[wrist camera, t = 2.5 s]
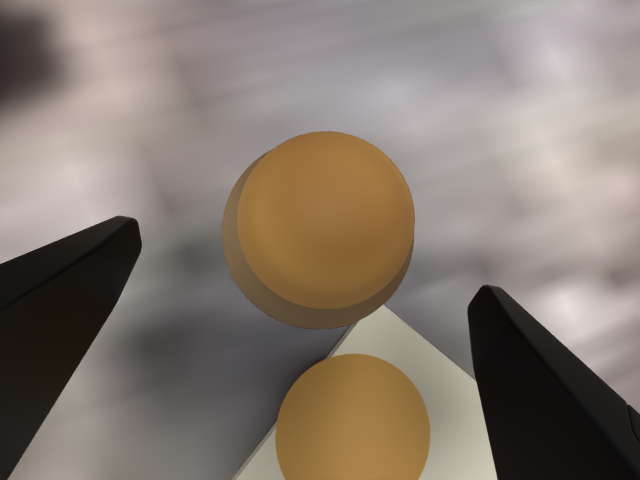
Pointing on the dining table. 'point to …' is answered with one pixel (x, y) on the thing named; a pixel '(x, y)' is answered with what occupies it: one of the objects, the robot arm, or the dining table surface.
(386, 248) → the orange ball tube
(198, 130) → the dining table surface
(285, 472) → the card
